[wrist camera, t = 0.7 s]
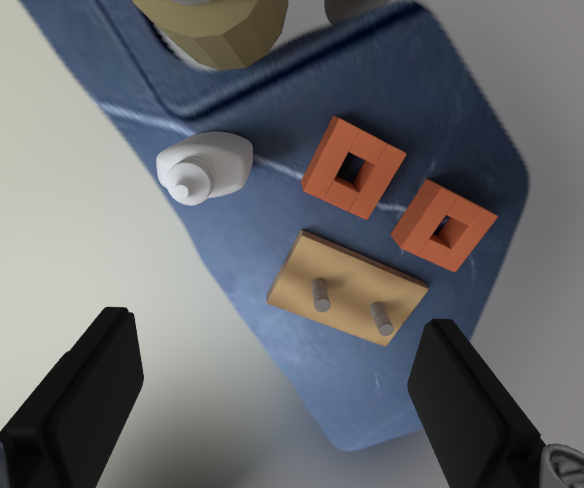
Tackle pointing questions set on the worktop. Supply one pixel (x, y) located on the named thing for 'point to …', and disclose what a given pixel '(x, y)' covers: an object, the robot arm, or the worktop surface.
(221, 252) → the worktop surface
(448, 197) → the orange square ring block
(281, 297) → the base board
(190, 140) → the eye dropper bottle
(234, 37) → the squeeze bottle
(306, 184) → the pad
